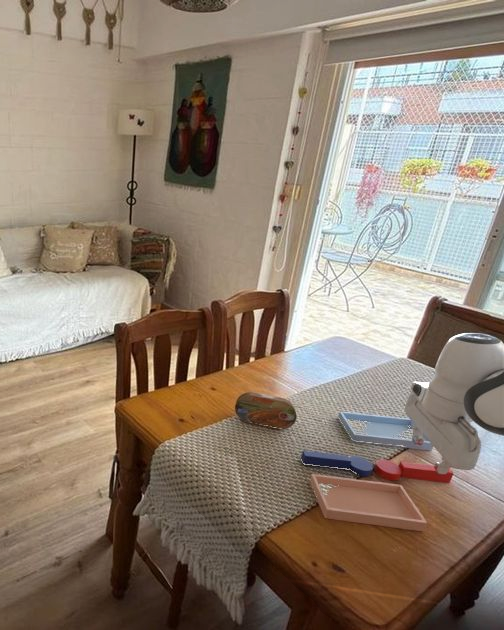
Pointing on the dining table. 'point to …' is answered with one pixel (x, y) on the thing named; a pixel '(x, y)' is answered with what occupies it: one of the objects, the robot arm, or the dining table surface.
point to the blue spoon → (338, 462)
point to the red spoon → (410, 471)
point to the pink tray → (367, 503)
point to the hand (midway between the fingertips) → (427, 456)
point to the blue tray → (382, 430)
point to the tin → (265, 410)
